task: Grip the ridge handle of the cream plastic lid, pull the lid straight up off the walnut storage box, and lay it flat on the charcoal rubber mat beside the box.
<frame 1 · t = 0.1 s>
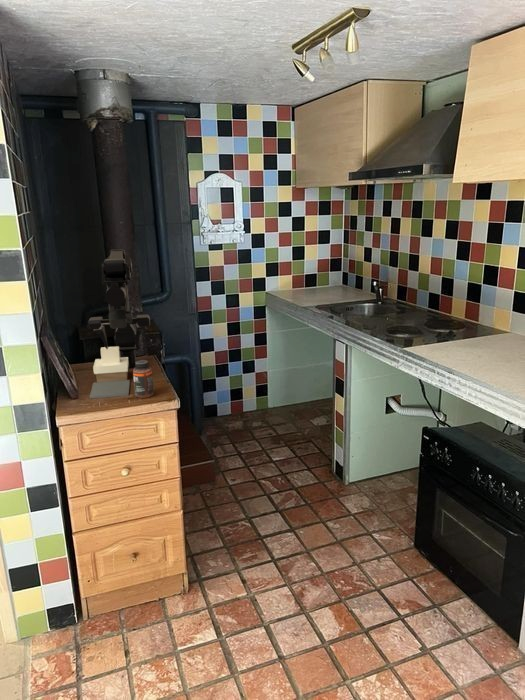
hand: (121, 347, 174), 15 cm above the cabinet, tool pointing down, fingers open, 9 cm apart
storage box: (112, 378, 190), on the cabinet
supplement bottle: (144, 396, 173), on the cabinet
mat: (110, 389, 179), on the cabinet
lid: (111, 368, 189), point 3 cm above the cabinet, touching storage box
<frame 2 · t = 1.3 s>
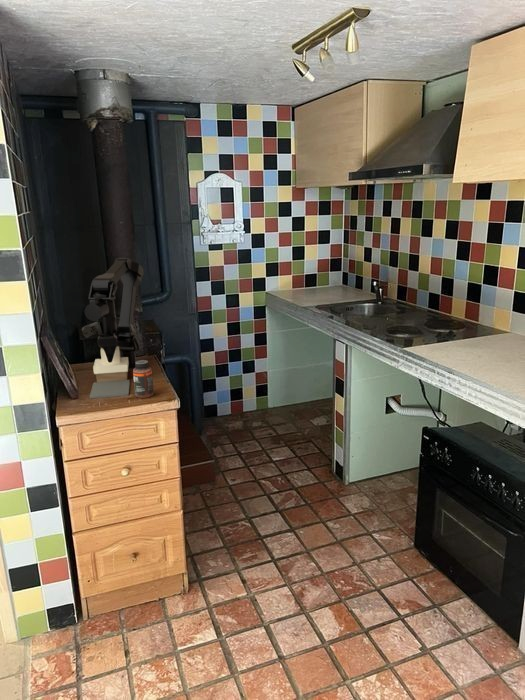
hand: (111, 358, 188), 7 cm above the cabinet, tool pointing down, fingers open, 9 cm apart
nothing on the cabinet moved.
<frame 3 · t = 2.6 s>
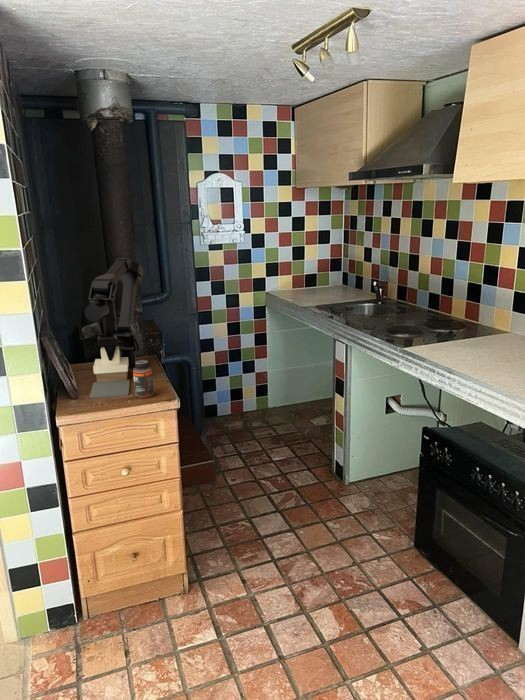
hand: (110, 359, 188), 7 cm above the cabinet, tool pointing down, fingers closed on lid, 3 cm apart
lid: (111, 368, 189), point 3 cm above the cabinet, touching gripper, storage box
everything else where it was.
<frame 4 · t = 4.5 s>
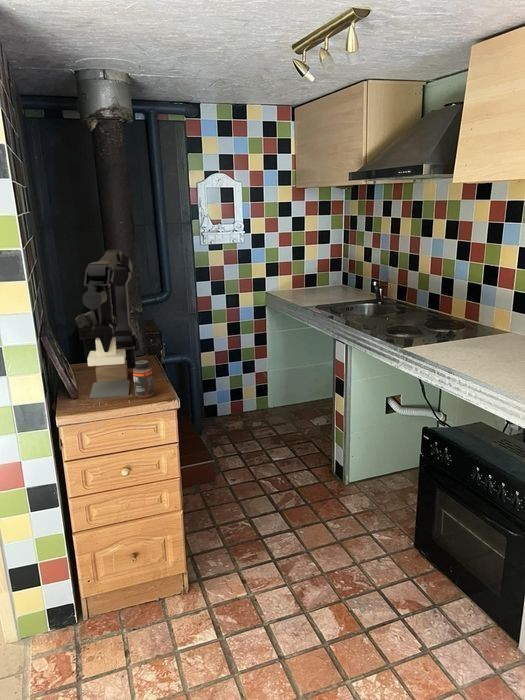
hand: (106, 350, 175), 13 cm above the cabinet, tool pointing down, fingers closed on lid, 3 cm apart
lid: (107, 361, 176), point 10 cm above the cabinet, touching gripper
everything else where it was.
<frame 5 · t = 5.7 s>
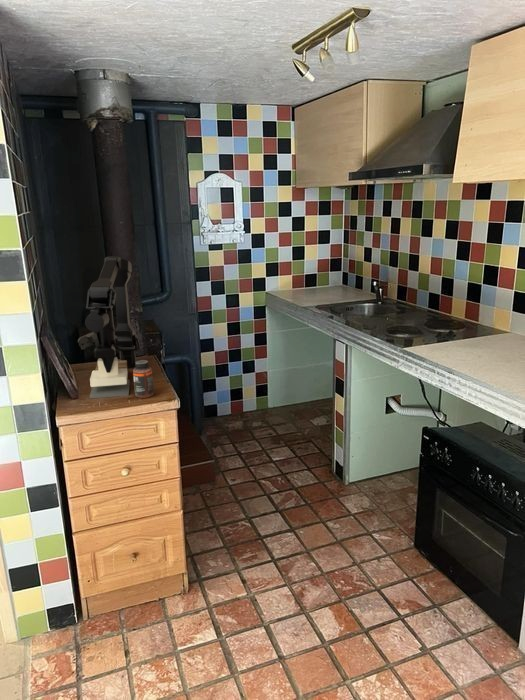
hand: (108, 370, 177), 6 cm above the cabinet, tool pointing down, fingers closed on lid, 3 cm apart
lid: (109, 380, 178), point 3 cm above the cabinet, touching gripper
everything else where it was.
when the fingers open (5 cm above the cabinet, at t = 6.6 s): lid drops 1 cm, resting on mat.
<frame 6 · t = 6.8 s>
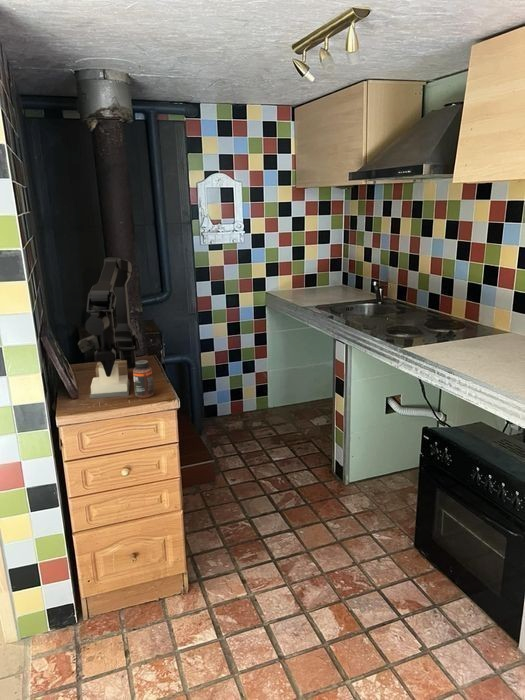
hand: (109, 373, 177), 5 cm above the cabinet, tool pointing down, fingers open, 5 cm apart
lid: (110, 387, 179), point 1 cm above the cabinet, touching mat
everything else where it was.
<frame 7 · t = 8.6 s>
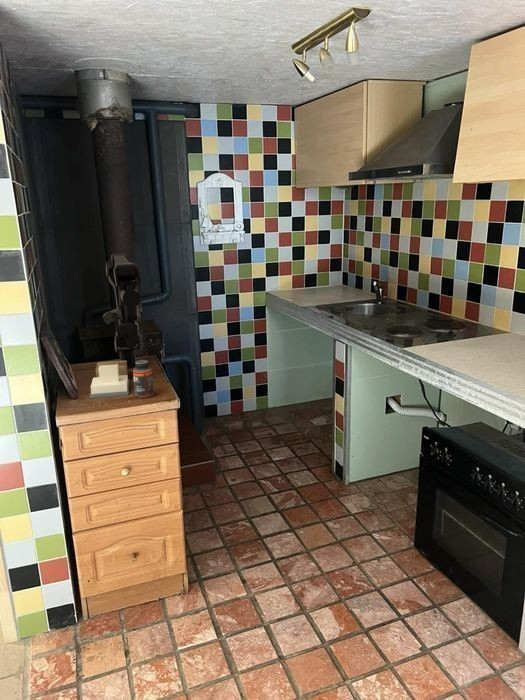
hand: (131, 345, 187), 12 cm above the cabinet, tool pointing down, fingers open, 9 cm apart
nothing on the cabinet moved.
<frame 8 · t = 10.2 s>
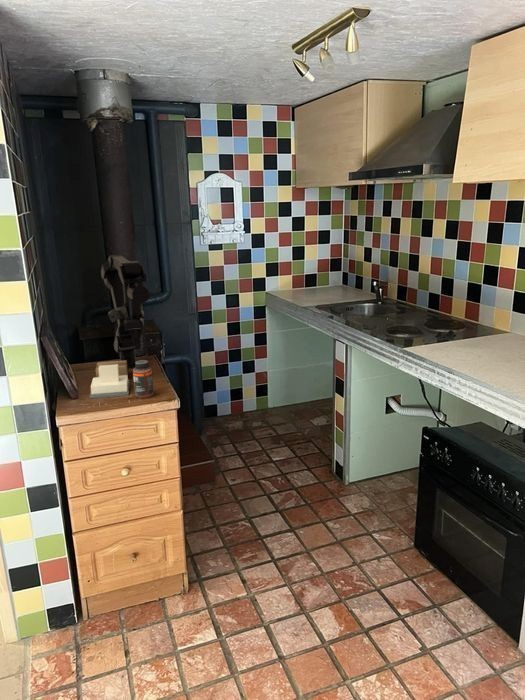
hand: (136, 342, 189), 12 cm above the cabinet, tool pointing down, fingers open, 9 cm apart
nothing on the cabinet moved.
at the end: lid inside the target area (0.1 cm from its centre), point 0.6 cm above the cabinet; lid tilted 0°; lid touching mat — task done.
